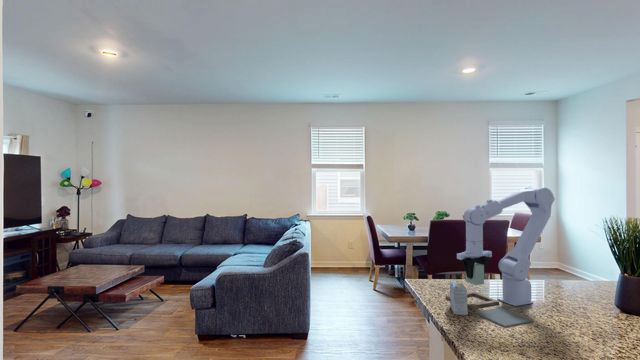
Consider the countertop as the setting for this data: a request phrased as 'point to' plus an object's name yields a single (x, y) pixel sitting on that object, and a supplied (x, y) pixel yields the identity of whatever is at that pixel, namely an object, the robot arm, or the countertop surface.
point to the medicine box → (458, 298)
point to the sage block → (476, 275)
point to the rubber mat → (504, 317)
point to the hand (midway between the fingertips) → (474, 277)
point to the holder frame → (481, 304)
